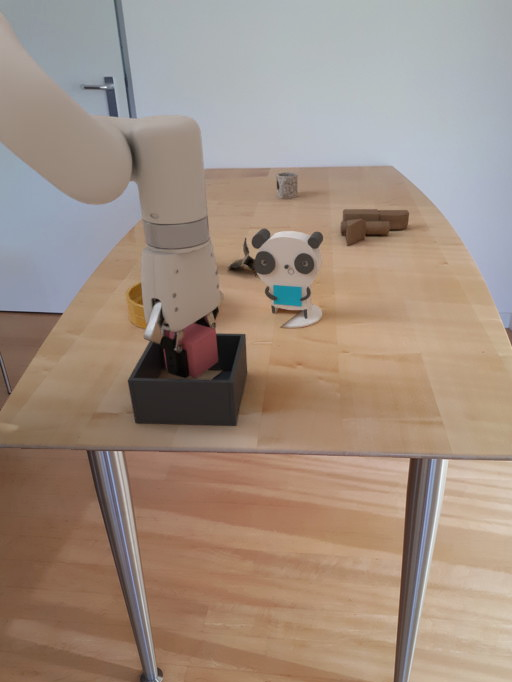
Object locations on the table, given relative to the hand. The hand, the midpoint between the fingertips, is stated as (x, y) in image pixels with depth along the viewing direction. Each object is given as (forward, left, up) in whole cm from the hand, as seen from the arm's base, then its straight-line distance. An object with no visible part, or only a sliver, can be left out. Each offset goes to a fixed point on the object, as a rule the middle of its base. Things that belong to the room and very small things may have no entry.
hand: (192, 363), depth 73 cm
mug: (+107, +47, -5) cm, 117 cm away
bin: (0, 0, -5) cm, 5 cm away
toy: (0, 0, 0) cm, 0 cm away
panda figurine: (+30, +2, -5) cm, 30 cm away
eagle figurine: (+45, +21, -5) cm, 50 cm away
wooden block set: (+82, +6, -6) cm, 82 cm away
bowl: (+19, +20, -5) cm, 28 cm away
